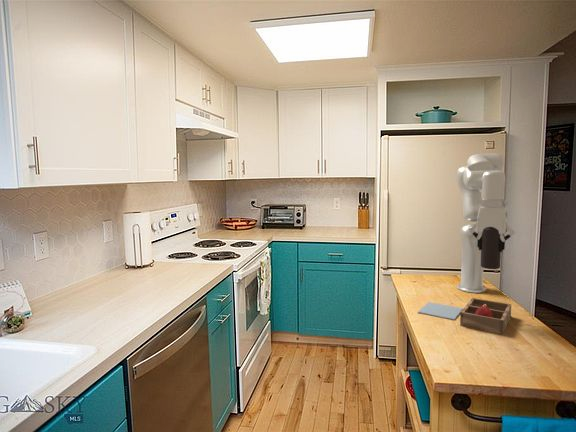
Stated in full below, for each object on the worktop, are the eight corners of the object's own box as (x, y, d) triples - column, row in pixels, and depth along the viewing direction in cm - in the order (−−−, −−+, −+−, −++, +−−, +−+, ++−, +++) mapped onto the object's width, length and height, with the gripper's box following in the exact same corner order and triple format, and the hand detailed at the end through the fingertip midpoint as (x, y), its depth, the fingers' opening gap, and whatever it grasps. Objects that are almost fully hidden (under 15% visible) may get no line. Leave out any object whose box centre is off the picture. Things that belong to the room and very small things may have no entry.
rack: (471, 309, 157) (472, 297, 156) (510, 316, 148) (511, 304, 148) (460, 325, 141) (460, 312, 140) (502, 334, 133) (503, 320, 132)
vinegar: (477, 265, 150) (479, 215, 147) (494, 264, 150) (496, 214, 147) (485, 269, 143) (487, 217, 141) (503, 269, 143) (506, 216, 140)
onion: (484, 329, 137) (485, 308, 136) (471, 323, 142) (472, 303, 141) (496, 326, 139) (496, 305, 138) (482, 321, 144) (483, 300, 144)
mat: (428, 303, 165) (428, 302, 165) (462, 309, 157) (463, 308, 157) (417, 312, 154) (418, 311, 154) (454, 320, 146) (454, 319, 146)
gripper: (520, 204, 141) (518, 251, 143) (469, 202, 151) (468, 246, 154) (517, 205, 135) (515, 255, 137) (465, 204, 146) (464, 249, 148)
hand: (490, 250), depth 146 cm, fingers closed on vinegar, 6 cm apart
